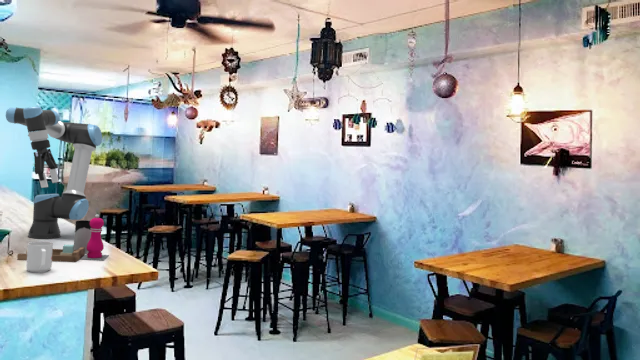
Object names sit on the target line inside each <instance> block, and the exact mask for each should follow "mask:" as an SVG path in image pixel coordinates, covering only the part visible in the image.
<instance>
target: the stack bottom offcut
mask: <svg viewBox="0 0 640 360" xmlns="http://www.w3.org/2000/svg"><path fill="white" fill-rule="evenodd" d="M73 252H75V251H73ZM60 255H70V256H72V253H63V252H61V253H60Z"/></svg>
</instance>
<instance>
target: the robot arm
mask: <svg viewBox="0 0 640 360" xmlns="http://www.w3.org/2000/svg"><path fill="white" fill-rule="evenodd" d="M5 119H6V121H7V122H8V123H10V124H13V125H14V124H17V125H22V126H25V127H26V128H27V132H28V133H27V136H28V137H29V141H30V145H31V149H32V150H33V151H35V152H33V156H34V157H33V159H34V174H35V175H37V176H38V180H39V184H40V188H41V189H42V188H49V184H48V179H47V175H46V173H45V172H44V171H45V163H46V165H47V166H48V168H49V174H50V179H51V182H52V184H55V183H59V182H60V180H59V177H58V173H57V169H58V164H57V162H56V160H55V158H54V156H53V154H52V150H51V148H50V147H51V143H50V142H51V141H50V140H49V137H51V138H53V139H55V140H59V141H60V142H64V143H67V144H72V147H74V153H73V157H72V161H71V165H70V166H71V167H70V172H69V176H68V180H67V185H66V190H65V191H63V192H62V193H61V194H62V195H61V196H60V194H59V193H46V194H45V193H44V194H36V196H34V199H33V213H32V214H33V215H32V224H31V226H30V228H29V230H28V235H27V236H28V238H31V239H38V240H39V239H42V240H44V239H45V240H46V239H48V240H49V239H58V238H60V237H61V229H60V225H59V223H58V221H59V219H61V220H62V219H63V220H71V221H74V220H76V221H81V220H82V219H83V218H85V216H86V215H87V213H88V212H89V207H90V205H89V203H90V202H89V200H88V199H86V198H87V196H86V194H85V193H84V192H85V189H86V184H87V183H86V182H87V178H88V174H89V168H90V164H91V163H90V162H91V160H92V159H91V158H92V153H93V152H94V151H96V149H97V147H98V146H100V145H101V144H102V141H103V134H102V130H101V128H100V127H99V125H97V124H91V123H81V122H80V123H78V122H64V121H60V119H61V118H60V114H59V113H58V112H57V111H56V110H54V109H42V107H41V106H38V105H37V106H29V107H25V108H24V107H8V108H7V109H6V112H5Z"/></svg>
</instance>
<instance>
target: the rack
mask: <svg viewBox="0 0 640 360" xmlns="http://www.w3.org/2000/svg"><path fill="white" fill-rule="evenodd" d="M74 251H75V252H73V253H72V256H70V255H60V253H61V252H63V248H53V251H52V262H61V263H62V262H63V263H64V262H65V263H66V262H67V263H76V262H78V261H79V260H80V258H82V257H83V256H85V255H86V254H85V247H81V248H79V249H78V250H74ZM16 259H17V261H27V254H26V253H20V252H19V253H17V258H16Z"/></svg>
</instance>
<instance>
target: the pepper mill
mask: <svg viewBox="0 0 640 360" xmlns="http://www.w3.org/2000/svg"><path fill="white" fill-rule="evenodd" d="M89 221H90V226H91V228H90V229H91V230H90V231H91V238H90V240H89V242H88V244H87V250H88V252H89V253H87V257H88V258H101V257H102V255H103V253H102V251H103V250H104V247H105V245H104V241H103V240H102V234H101V233H102V231H103V226H104V225H105V222H104V219H103V218H101V217H100V214H98V213H97V214H95V216H94V217H93V218H91V219H90V220H89Z"/></svg>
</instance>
